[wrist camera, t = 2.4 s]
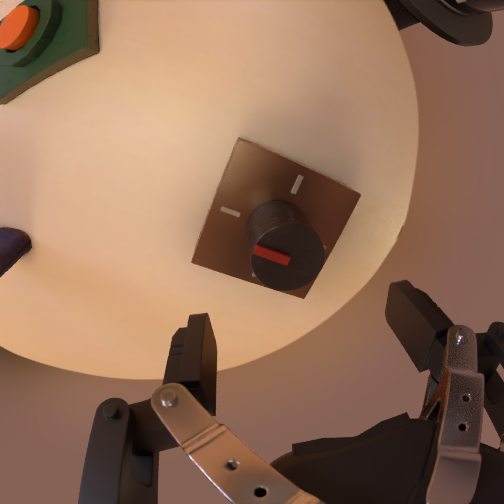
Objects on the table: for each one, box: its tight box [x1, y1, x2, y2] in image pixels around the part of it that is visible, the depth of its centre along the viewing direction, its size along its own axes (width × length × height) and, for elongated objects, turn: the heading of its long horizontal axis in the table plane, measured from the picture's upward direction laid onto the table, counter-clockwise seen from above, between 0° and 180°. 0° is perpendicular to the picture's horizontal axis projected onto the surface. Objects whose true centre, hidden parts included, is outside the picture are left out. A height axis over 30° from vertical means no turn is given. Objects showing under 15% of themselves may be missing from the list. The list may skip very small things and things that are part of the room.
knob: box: [247, 200, 325, 291], centre depth 18 cm, size 4×4×5 cm
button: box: [0, 5, 40, 50], centre depth 9 cm, size 4×4×2 cm
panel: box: [191, 138, 361, 299], centre depth 22 cm, size 10×10×3 cm
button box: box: [0, 0, 99, 105], centre depth 11 cm, size 12×10×4 cm
